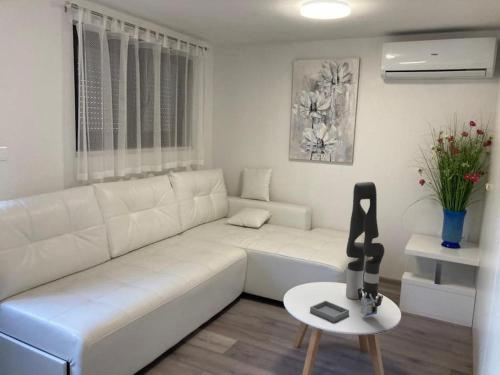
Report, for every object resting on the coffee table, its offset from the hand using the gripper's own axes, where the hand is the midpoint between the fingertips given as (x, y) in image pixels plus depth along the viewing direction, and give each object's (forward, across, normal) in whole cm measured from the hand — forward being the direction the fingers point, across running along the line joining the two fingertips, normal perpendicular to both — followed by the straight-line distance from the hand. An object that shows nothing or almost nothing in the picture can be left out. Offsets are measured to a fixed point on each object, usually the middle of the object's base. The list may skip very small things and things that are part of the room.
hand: (368, 310), depth 213 cm
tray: (+4, +16, +12) cm, 21 cm away
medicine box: (+2, 0, 0) cm, 2 cm away
